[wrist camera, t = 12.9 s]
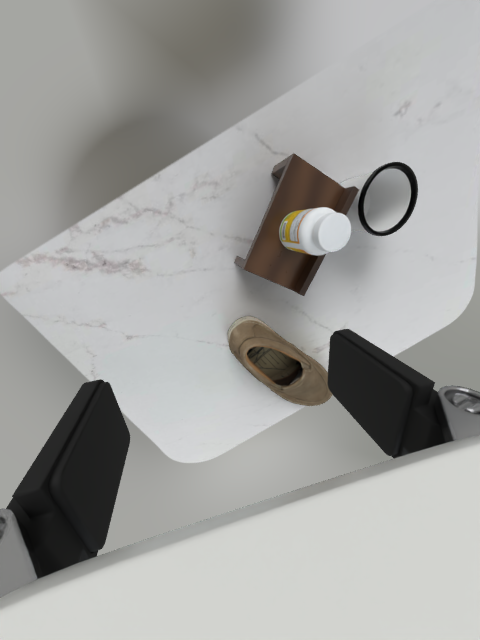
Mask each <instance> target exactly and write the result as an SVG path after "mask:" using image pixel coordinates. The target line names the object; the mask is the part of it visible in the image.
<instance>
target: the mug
mask: <svg viewBox="0 0 480 640" xmlns="http://www.w3.org/2000/svg"><path fill="white" fill-rule="evenodd" d="M340 185H341V186H342V187H344V188H348V187H353V186H355V187H356V188H358V189H359V192H358V193H357V195H356V197H355V199H354V201H353V203H352V205H351V207H350V209H349V211H348V213H347V215H346V216H347V218H348V219H349V221H350V223H351V231H358V232H368V233H370V234H372V235H375V236H386V235H389V234H392V233H394V232H396V231H397V230H398V229H400V228H401V227H402V226H403V225H404V224H405V223H406V222H407V220H408V219H409V217H410V216H411V214H412V212H413V210H414V207H415V204H416V200H417V195H418V184H417V179H416V176H415V174H414V172H413V171H412V169H411V168H410V167H409V166H407V165H406V164H404V163H400V162H392V163H388V164H385V165H383V166H381V167H379V168H378V169H376V170H375V171H374V172H373V173H369V174H366V175H362V176H358V177H355V178H351V179H348V180H345V181H343V182H342V183H341V184H340Z"/></svg>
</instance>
